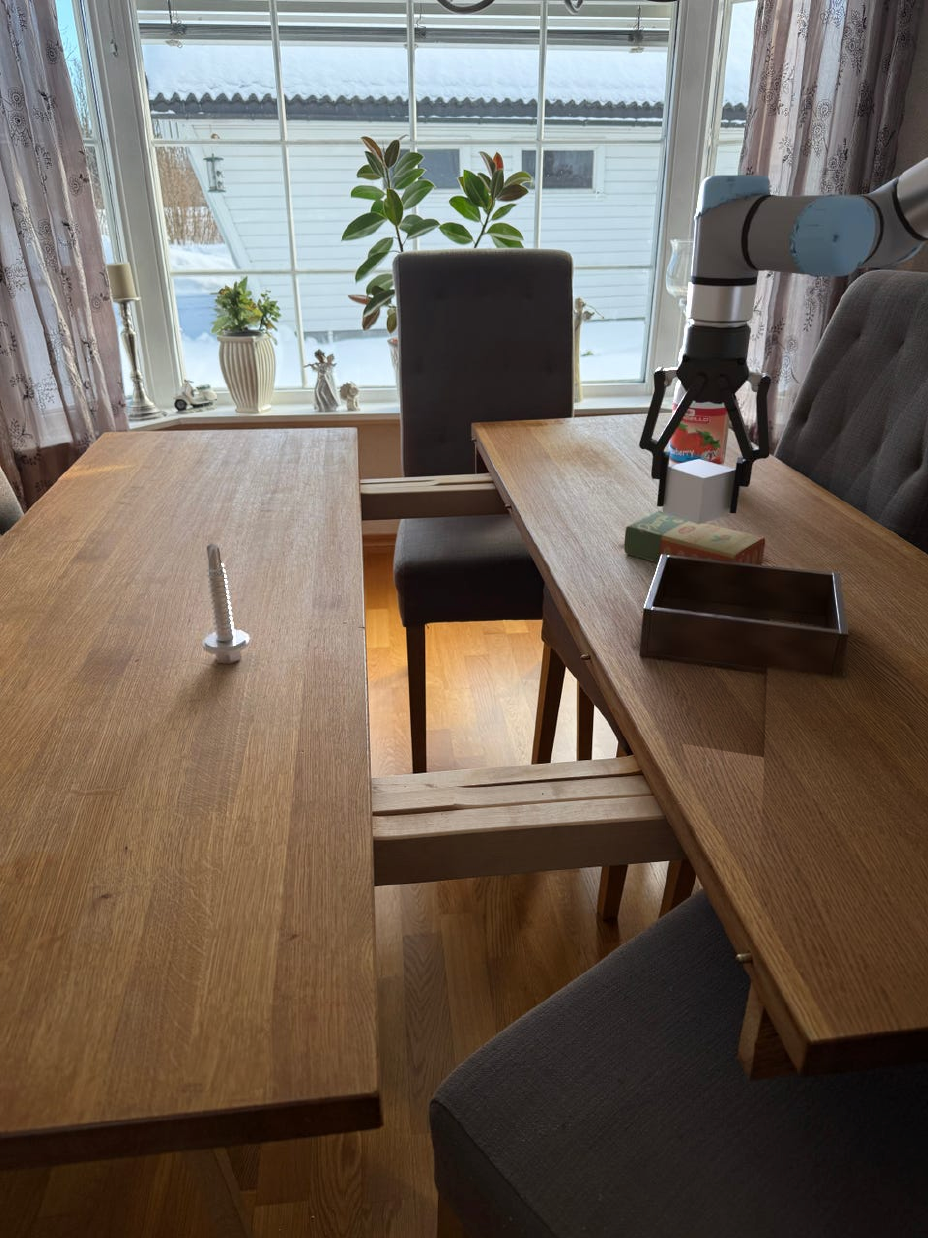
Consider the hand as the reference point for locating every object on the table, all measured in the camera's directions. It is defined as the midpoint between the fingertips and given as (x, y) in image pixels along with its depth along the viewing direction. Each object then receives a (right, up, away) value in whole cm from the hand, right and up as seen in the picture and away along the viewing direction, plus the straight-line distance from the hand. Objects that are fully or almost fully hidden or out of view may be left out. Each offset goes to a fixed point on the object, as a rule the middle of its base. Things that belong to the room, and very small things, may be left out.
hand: (696, 506), depth 113 cm
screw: (-55, -19, -20) cm, 61 cm away
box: (0, -16, -17) cm, 23 cm away
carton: (0, -7, +3) cm, 8 cm away
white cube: (0, -1, +1) cm, 1 cm away
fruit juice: (+10, +10, +38) cm, 41 cm away
